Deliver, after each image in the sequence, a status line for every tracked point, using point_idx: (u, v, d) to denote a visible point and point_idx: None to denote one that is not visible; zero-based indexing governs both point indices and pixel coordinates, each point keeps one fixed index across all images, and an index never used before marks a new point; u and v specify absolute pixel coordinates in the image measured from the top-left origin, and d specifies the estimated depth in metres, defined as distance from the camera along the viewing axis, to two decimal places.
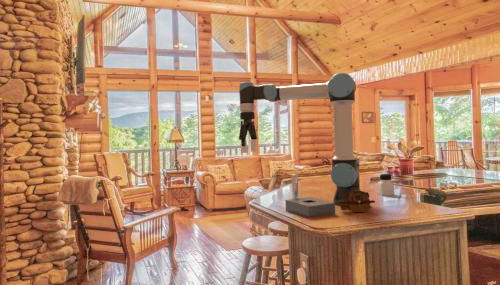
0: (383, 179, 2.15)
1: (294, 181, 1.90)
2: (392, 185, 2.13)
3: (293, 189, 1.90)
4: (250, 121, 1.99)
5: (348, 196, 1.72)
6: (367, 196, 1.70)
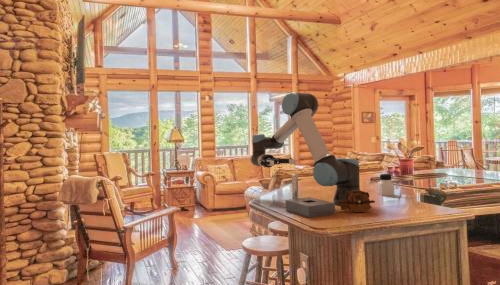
0: (383, 179, 2.15)
1: (294, 181, 1.90)
2: (392, 185, 2.13)
3: (293, 189, 1.90)
4: (272, 159, 2.15)
5: (348, 196, 1.72)
6: (367, 196, 1.70)
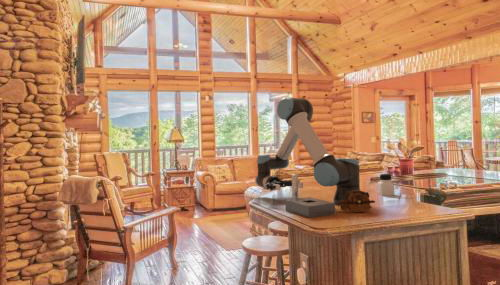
0: (383, 179, 2.15)
1: (294, 181, 1.90)
2: (392, 185, 2.13)
3: (293, 189, 1.90)
4: (278, 181, 2.10)
5: (348, 196, 1.72)
6: (367, 196, 1.70)
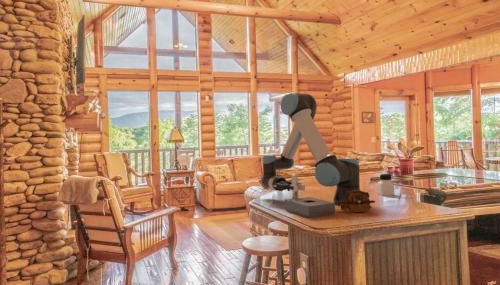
0: (383, 179, 2.15)
1: (294, 181, 1.90)
2: (392, 185, 2.13)
3: None
4: (284, 182, 2.05)
5: (348, 196, 1.72)
6: (367, 196, 1.70)
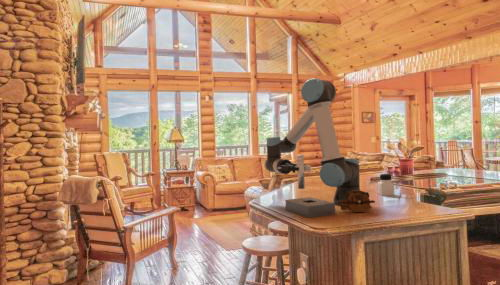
0: (383, 179, 2.15)
1: (299, 162, 1.79)
2: (392, 185, 2.13)
3: None
4: (289, 164, 1.94)
5: (348, 196, 1.72)
6: (367, 196, 1.70)
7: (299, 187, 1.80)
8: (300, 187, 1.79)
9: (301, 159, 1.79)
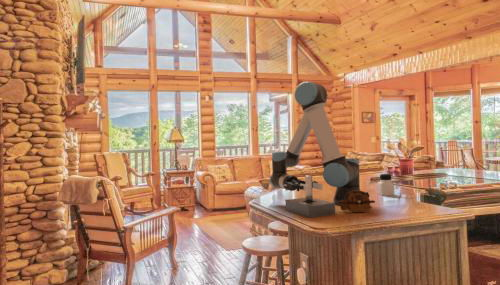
0: (383, 179, 2.15)
1: (308, 183, 1.73)
2: (392, 185, 2.13)
3: (307, 192, 1.74)
4: (296, 181, 1.88)
5: (348, 196, 1.72)
6: (367, 196, 1.70)
7: None
8: None
9: (310, 180, 1.73)
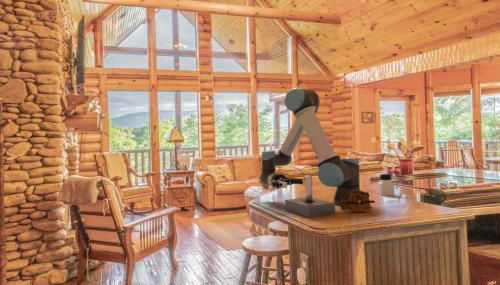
0: (383, 179, 2.15)
1: (308, 183, 1.73)
2: (392, 185, 2.13)
3: (307, 192, 1.74)
4: (284, 178, 1.98)
5: (348, 196, 1.72)
6: (367, 196, 1.70)
7: None
8: None
9: (309, 180, 1.73)
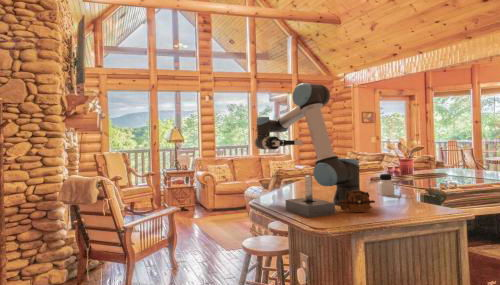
0: (383, 179, 2.15)
1: (308, 183, 1.73)
2: (392, 185, 2.13)
3: (307, 192, 1.74)
4: (277, 141, 2.11)
5: (348, 196, 1.72)
6: (367, 196, 1.70)
7: None
8: None
9: (309, 180, 1.73)
